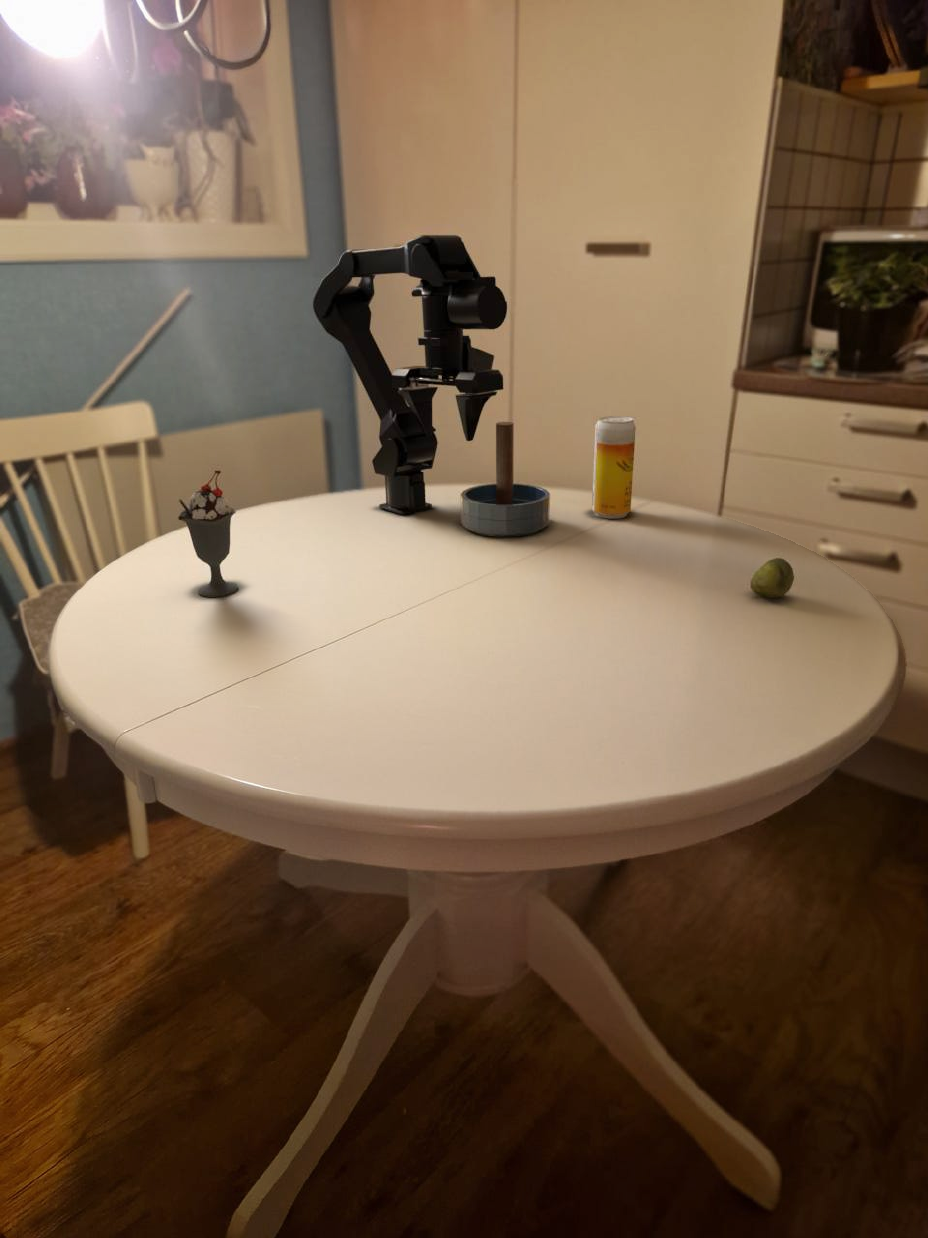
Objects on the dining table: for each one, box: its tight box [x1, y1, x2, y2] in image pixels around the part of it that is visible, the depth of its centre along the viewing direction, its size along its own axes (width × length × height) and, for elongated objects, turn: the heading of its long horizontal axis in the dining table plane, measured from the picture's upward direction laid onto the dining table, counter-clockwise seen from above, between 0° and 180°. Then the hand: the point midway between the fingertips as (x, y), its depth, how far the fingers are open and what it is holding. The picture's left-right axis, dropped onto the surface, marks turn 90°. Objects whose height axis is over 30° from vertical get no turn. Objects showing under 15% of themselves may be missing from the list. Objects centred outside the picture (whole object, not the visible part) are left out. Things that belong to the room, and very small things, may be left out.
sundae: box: [177, 470, 239, 598], centre depth 106 cm, size 7×7×15 cm
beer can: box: [591, 415, 637, 519], centre depth 135 cm, size 6×6×15 cm
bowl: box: [460, 482, 551, 538], centre depth 132 cm, size 13×13×5 cm
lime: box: [750, 557, 795, 599], centre depth 102 cm, size 4×5×5 cm
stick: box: [495, 421, 515, 505], centre depth 130 cm, size 4×4×15 cm
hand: (448, 437), depth 131 cm, fingers open, 9 cm apart
